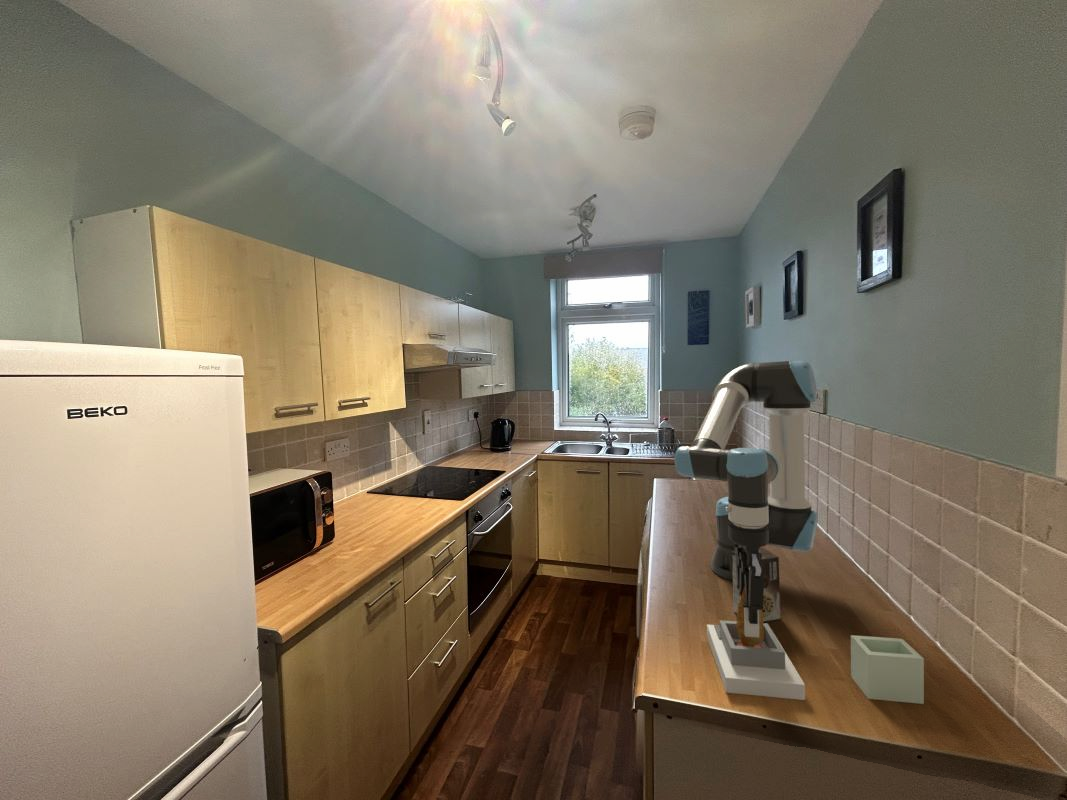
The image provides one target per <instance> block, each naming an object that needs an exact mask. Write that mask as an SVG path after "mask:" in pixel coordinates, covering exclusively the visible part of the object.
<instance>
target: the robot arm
mask: <svg viewBox="0 0 1067 800" xmlns="http://www.w3.org/2000/svg"><path fill="white" fill-rule="evenodd" d="M716 384H717V385H716V386H715V388H714V391H713V398H714V399H713V401H712V402H711V404H710V406H709V409H708V411H707V413H706V415H705V417H704V419H703V421H702V423H701V426H700V428H699V429H698V432H697V433H696V436H695V438H694V440H693V442H692V444H691V446H688V445H686V446H680V447H678V448H677V450H676V451H675V454H674V467H675V471H676V473H677V475H679V476H682V477H687V478H692V479H702V480H711V481H712V480H713V481H722V482H727V496H724V497H722V498H720V499H718V500H717V502H716V510H715V518H716V519H715V521H716V525H715V526H716V546H715V549H714V552H713V555H712V557H711V562H710V563H711V565H710V566H711V570H712V572H714V574H716V575H718V576H719V577H721V578H724V579H726V580H729V581H733V569H732V552H733V551H735V558H736V576H737V588H738V589H739V595H740V596H742V593H743V590H744V587H745V601H746V603H742V607H743V608H744V635H745V637H759V610H763V593H764V576H765V571H766V569H765V567H764V566H761V561H762V556H761V553H759V548H761V547H762V548H763V547H765V546H770V547H775V548H780V549H786V550H791V551H795V552H796V551H798V552H804V553H805V552H809V551H811V550H812V548H813V546H814V541H815V538H816V533H817V526H818V522H819V521H818V520H819V518H818V517H819V513H818V512H817V511H815V510H812V503H811V502H810V501H809V500H808V499H807V498H806V488H805V487H806V478H805V475H806V472H805V470H806V468H805V466H806V465H805V464H806V463H805V459H806V458H805V415H806V413H807V412H808V411H809V410H811V404H812V403H815V402H817V401H818V393H817V391H818V389H817V382H816V378H815V374H814V370H813V366H812V365H811V363H810V362H808V361H806V360H785V361H782V360H781V361H769V362H766V361H765V362H750V363H746V364H742V365H739V366H737V367H736V368H734V369H733V370H731V371H729V372H728V373H726V375H724V376H723V377H722V378H721V379H720V380H719V382H718V383H716ZM753 402H754V403H755V402H757V403H762V404H763V409H764V410H765V411H766V412H767V413H768V415H769V450H767V449H763V448H756V447H755V448H754V447H737V448H731V449H727V448H726V446H727V443H728V442H729V439H730V436H731V434H732V431H733V430H734V426H735V424H736V422H737V419H738V417H739V415H740V413H741V410H742V408H744V407H745V406H747V404H748V403H753ZM769 485H770V487H769ZM769 489H770V491H769ZM768 491H769V492H770V493H769V492H768ZM740 599H741V598H740ZM759 638H760V637H759Z"/></svg>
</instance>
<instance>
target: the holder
mask: <svg viewBox="0 0 1067 800" xmlns="http://www.w3.org/2000/svg"><path fill="white" fill-rule="evenodd" d="M850 677H851V679H853V681H854V682H855V683H856V685H857V687H859V689H860V690H861V691H862V692H863V695H864V696H865V697H866V698H867V699H868V700H881V701H887V702H897V703H898V702H900V703H908V704H909V703H910V704H920V705H924V703H925V691H924V690H925V688H924V687H925V685H924V684H925V659H924V657H923V656H922V655H921V654H919V653H918V652H917V650H915V649H914V648H913V647H912V646H911V645H909V643H908V642H906V640H905V639H903V638H898V637H896V638H895V637H882V636H881V637H880V636H867V635H854V634H851V635H850Z"/></svg>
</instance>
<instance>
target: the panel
mask: <svg viewBox="0 0 1067 800" xmlns="http://www.w3.org/2000/svg"><path fill="white" fill-rule="evenodd" d="M718 621H719V622H718V623H719V624H706V639H707V640H708V643H709V646H710V649H711V652H712V656H713V658H714V661H715V664H716V667H717V669H718V673H719V676H720V678H721V681H722V682H721V683H722V684H723V687H724V690H725V693H728V694H739V695H748V696H749V695H750V696H760V697H769V698H778V699H779V698H780V699H788V700H789V699H790V700H797V701H798V700H800V701H806V685H805V682H804V681H803V679H802V678H801V676H800V674H799V673H798V671H797V669H796V667H795V666H794V664H793V663H792V661H791V659H790V657H789V656H788V654H787V653H786V651H785V649H784V648H783V646H782V644H781V642H780V641H779V640H778V637H777V636H776V634H775V633H774V630H773V629H772V628H771V627H770V625H769V623H767V622H766V623H764V622H763V623H764V624H763V629H764V639H763V641H762V643H759V644H758V645H759V646H761V647H762V648H760V647H747V646H737V645H738V643H739V642H741V639H740V638H739V636H738V632H737V625H736V623H737V620H720V619H719V620H718Z"/></svg>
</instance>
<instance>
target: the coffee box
mask: <svg viewBox="0 0 1067 800" xmlns="http://www.w3.org/2000/svg"><path fill="white" fill-rule="evenodd" d="M759 553H761V556H762V561H761V566H764V567H765V569H766V571H765V576H764V593H763V610H762V614H763V620H764V621H763V623H764V622H769V621H774V620H780V619H781V617H782V616H781V592H780V586H781V585H780V561H779V559H780V558H779V556H778V555H776V554H774V553H773V552H771V551H769V550H767V549H766V548H764V547H763V546H762V547H760V548H759ZM732 569H733V580H732V595H733V596H732V598H733V599H732V601H733V603H732V604H733V605H732V606H733V612H734V613H735V614H736V615H737V611H738V603H739V602H740V598H741V596H740V595H739V589H738V588H737V576H736V558H735V551H733V552H732Z"/></svg>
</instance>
